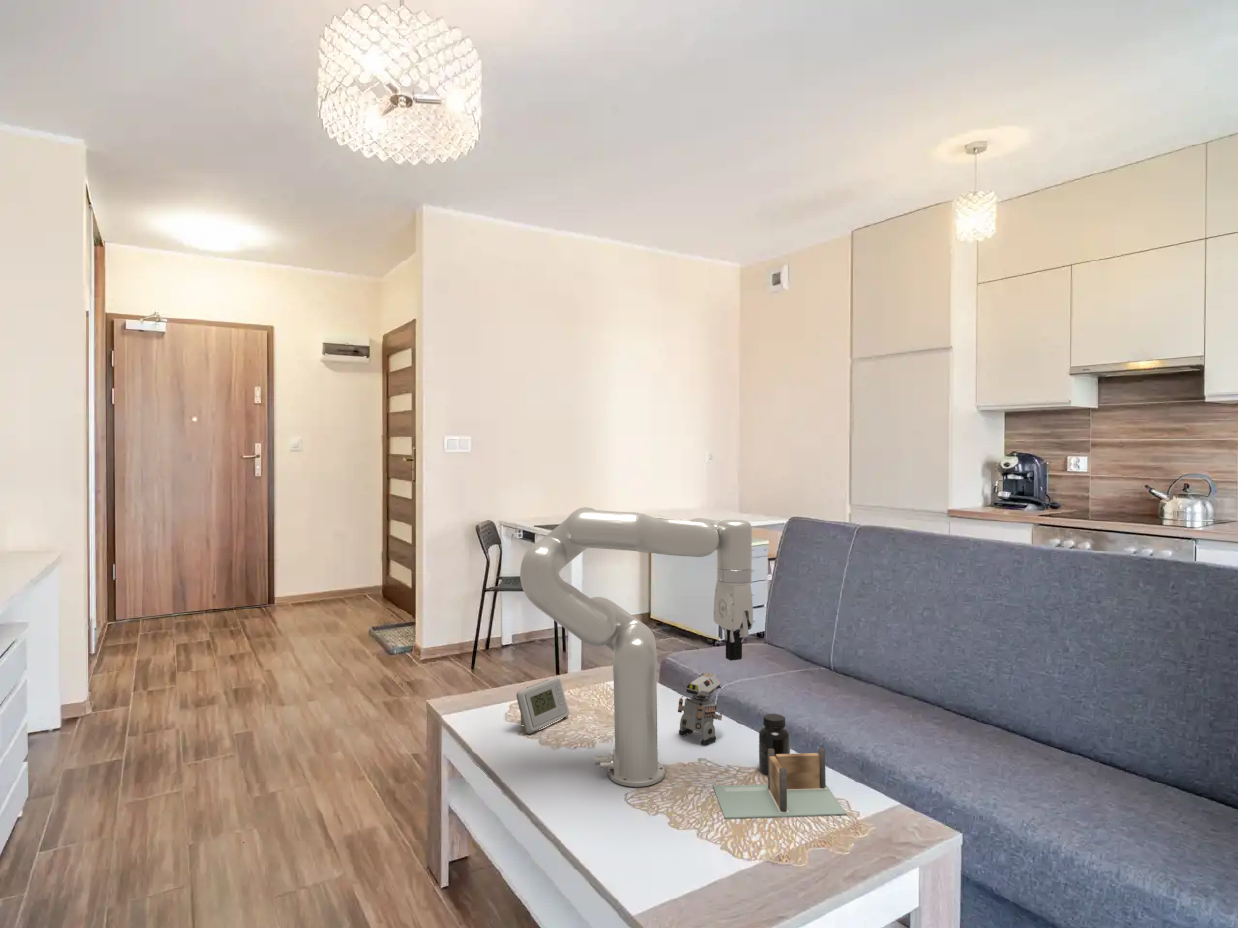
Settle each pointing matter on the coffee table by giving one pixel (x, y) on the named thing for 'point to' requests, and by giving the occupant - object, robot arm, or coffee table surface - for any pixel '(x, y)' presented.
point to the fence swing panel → (777, 780)
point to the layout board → (763, 805)
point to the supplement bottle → (772, 739)
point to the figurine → (700, 708)
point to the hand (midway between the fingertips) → (733, 658)
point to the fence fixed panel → (804, 769)
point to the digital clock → (542, 704)
